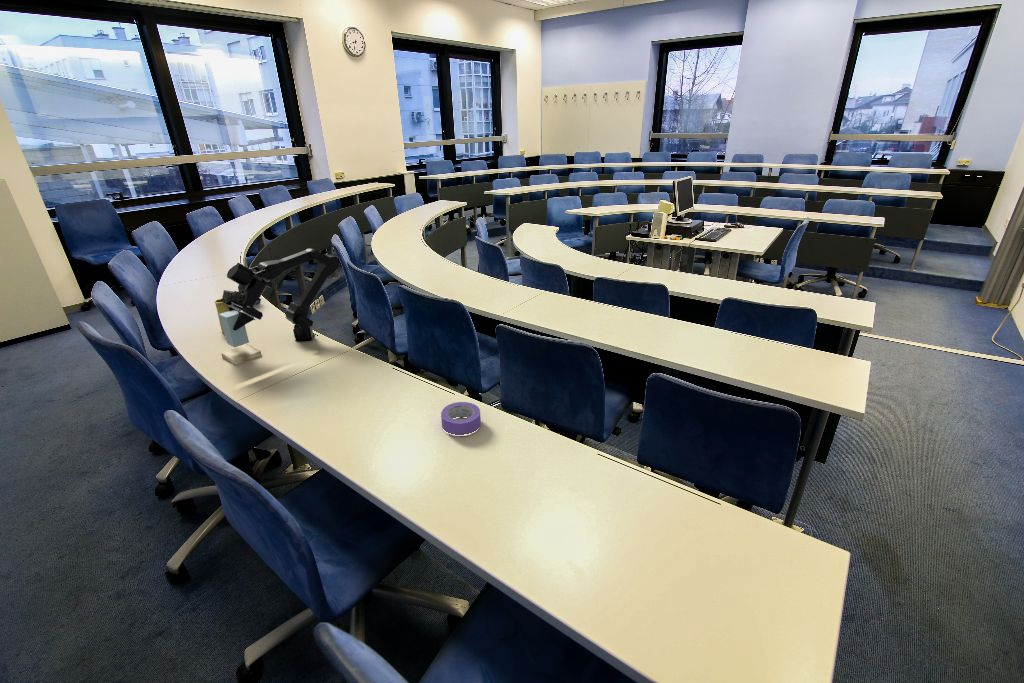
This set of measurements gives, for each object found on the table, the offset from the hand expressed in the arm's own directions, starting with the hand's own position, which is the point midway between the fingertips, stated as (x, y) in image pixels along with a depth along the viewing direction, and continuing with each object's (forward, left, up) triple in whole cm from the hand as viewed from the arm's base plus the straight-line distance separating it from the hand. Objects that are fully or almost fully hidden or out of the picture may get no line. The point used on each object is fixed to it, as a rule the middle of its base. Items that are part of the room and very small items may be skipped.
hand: (230, 328), depth 173 cm
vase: (+14, -30, -14) cm, 36 cm away
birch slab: (-1, -1, -12) cm, 12 cm away
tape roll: (-82, +54, -14) cm, 99 cm away
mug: (+18, -67, -14) cm, 71 cm away
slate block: (-1, -1, -7) cm, 7 cm away
